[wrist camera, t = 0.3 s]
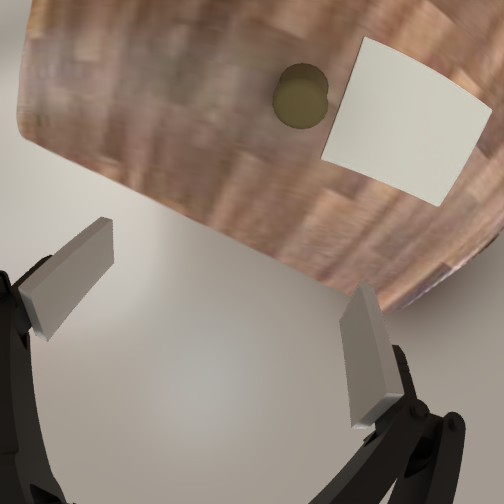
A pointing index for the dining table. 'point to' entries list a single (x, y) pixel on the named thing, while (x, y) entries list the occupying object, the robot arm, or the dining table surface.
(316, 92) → the cork
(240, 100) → the dining table surface
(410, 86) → the felt mat
